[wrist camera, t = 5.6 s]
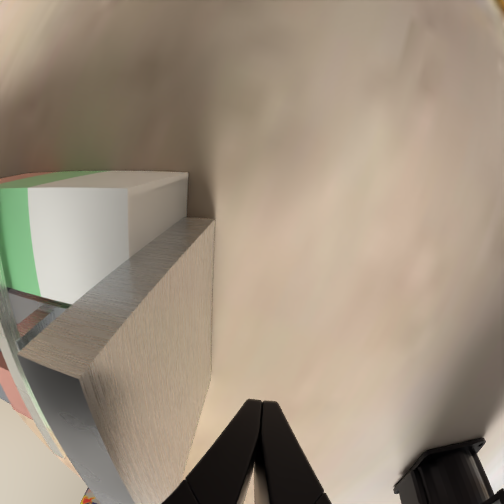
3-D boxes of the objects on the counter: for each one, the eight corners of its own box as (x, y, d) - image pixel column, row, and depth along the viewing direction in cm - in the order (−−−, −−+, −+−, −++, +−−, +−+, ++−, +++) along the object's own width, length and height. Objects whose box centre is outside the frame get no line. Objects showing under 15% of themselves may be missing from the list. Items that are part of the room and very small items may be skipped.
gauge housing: (188, 172, 11) (127, 188, 7) (189, 395, 15) (164, 469, 10) (-5, 175, 12) (-73, 193, 7) (26, 347, 16) (-17, 390, 11)
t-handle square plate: (218, 161, 11) (45, 199, 2) (210, 407, 15) (171, 556, 6) (35, 162, 11) (-124, 203, 3) (69, 372, 15) (-8, 471, 7)
